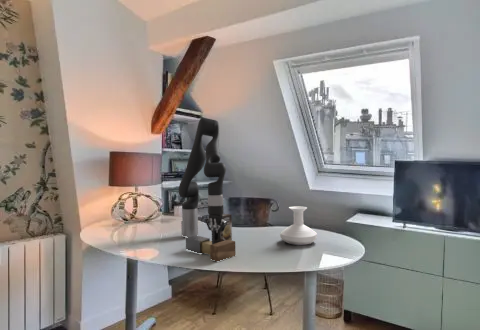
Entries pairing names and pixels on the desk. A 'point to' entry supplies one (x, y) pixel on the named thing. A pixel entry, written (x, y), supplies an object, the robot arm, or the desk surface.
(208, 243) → the tan and grey block
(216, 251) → the socket
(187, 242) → the grey rectangular box
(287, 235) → the white vase
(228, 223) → the coffee box
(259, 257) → the desk surface
